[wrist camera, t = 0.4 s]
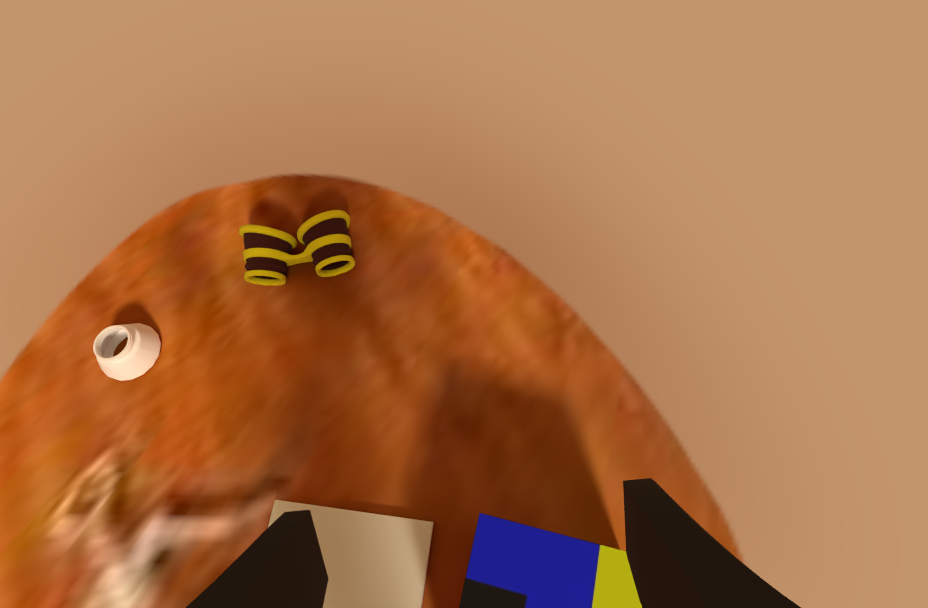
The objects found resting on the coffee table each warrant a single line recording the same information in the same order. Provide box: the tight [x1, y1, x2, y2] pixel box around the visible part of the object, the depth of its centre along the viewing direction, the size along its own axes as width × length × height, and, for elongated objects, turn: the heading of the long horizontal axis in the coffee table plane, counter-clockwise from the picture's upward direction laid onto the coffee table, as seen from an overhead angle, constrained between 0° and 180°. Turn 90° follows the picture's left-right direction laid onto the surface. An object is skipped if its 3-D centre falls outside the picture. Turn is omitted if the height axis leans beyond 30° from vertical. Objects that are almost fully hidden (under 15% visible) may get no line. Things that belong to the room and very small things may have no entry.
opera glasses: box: [239, 210, 355, 285], centre depth 46 cm, size 10×5×5 cm, turn 100°
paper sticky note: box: [268, 500, 434, 608], centre depth 36 cm, size 11×12×1 cm
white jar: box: [93, 323, 161, 381], centre depth 44 cm, size 5×3×5 cm
